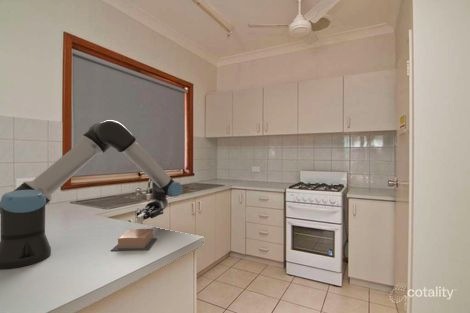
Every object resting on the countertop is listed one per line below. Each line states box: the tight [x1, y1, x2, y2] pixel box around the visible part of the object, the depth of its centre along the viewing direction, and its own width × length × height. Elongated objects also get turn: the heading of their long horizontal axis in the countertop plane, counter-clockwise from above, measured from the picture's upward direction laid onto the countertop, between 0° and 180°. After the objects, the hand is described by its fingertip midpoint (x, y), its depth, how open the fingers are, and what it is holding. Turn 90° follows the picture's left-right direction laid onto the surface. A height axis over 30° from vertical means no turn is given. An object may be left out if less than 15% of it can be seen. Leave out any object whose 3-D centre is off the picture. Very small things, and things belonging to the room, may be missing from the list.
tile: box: [117, 228, 154, 249], centre depth 99 cm, size 4×10×12 cm
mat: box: [110, 237, 158, 252], centre depth 97 cm, size 13×14×1 cm
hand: (139, 219), depth 101 cm, fingers closed
